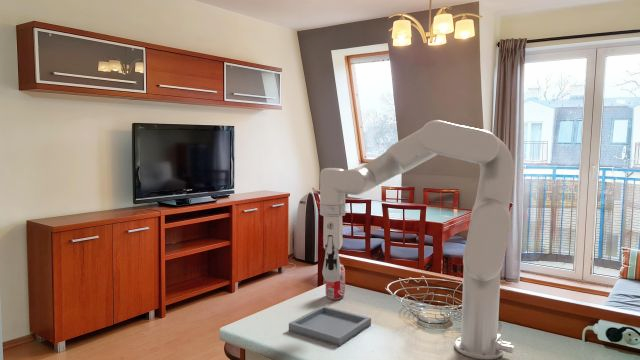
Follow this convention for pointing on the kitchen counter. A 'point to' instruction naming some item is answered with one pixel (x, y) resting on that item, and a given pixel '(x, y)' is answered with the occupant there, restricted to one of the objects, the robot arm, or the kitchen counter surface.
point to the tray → (330, 325)
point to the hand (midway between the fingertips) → (331, 269)
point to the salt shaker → (332, 274)
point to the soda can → (336, 286)
